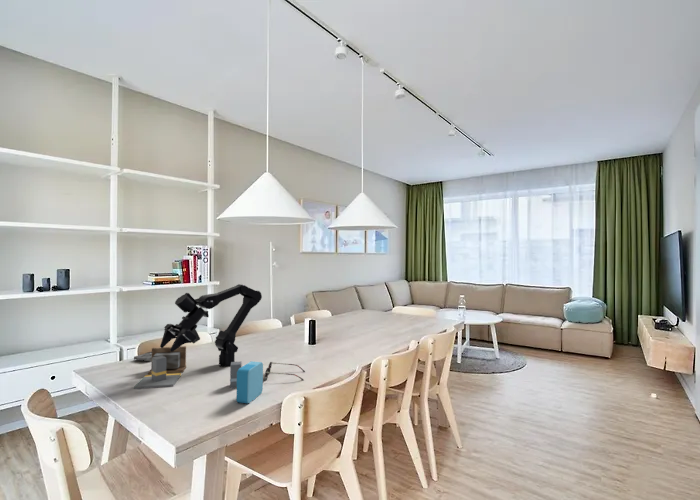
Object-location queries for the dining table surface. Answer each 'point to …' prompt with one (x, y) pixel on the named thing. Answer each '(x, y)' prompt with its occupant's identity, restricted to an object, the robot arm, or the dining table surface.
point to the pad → (149, 383)
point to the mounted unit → (171, 358)
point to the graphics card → (144, 357)
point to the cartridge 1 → (158, 368)
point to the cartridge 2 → (234, 373)
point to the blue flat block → (249, 382)
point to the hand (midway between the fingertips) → (165, 349)
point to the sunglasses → (279, 373)
